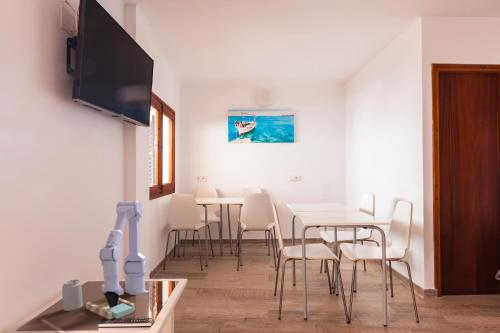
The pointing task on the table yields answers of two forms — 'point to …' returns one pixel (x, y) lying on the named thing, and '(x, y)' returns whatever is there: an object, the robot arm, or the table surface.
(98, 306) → the tray
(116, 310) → the pale teal square slab
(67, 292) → the can
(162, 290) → the table surface
